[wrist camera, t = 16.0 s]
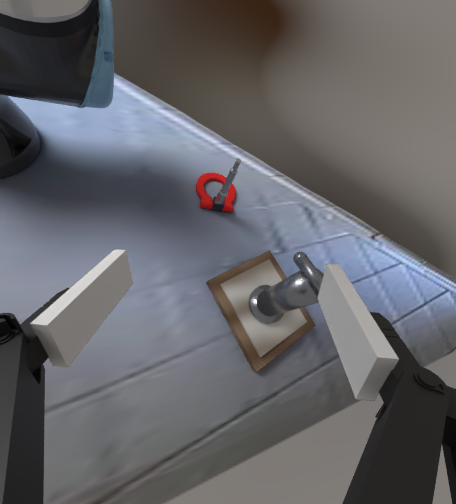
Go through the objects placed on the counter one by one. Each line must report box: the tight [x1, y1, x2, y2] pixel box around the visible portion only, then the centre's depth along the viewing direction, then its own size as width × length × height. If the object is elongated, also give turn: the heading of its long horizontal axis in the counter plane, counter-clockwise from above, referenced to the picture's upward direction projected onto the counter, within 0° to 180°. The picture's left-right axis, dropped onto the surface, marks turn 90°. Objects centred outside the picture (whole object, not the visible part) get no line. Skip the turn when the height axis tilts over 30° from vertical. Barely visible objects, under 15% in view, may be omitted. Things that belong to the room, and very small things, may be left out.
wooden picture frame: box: [207, 251, 315, 372], centre depth 40 cm, size 16×14×2 cm
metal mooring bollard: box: [249, 252, 324, 324], centre depth 33 cm, size 9×6×14 cm
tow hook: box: [196, 159, 241, 212], centre depth 42 cm, size 8×13×9 cm
